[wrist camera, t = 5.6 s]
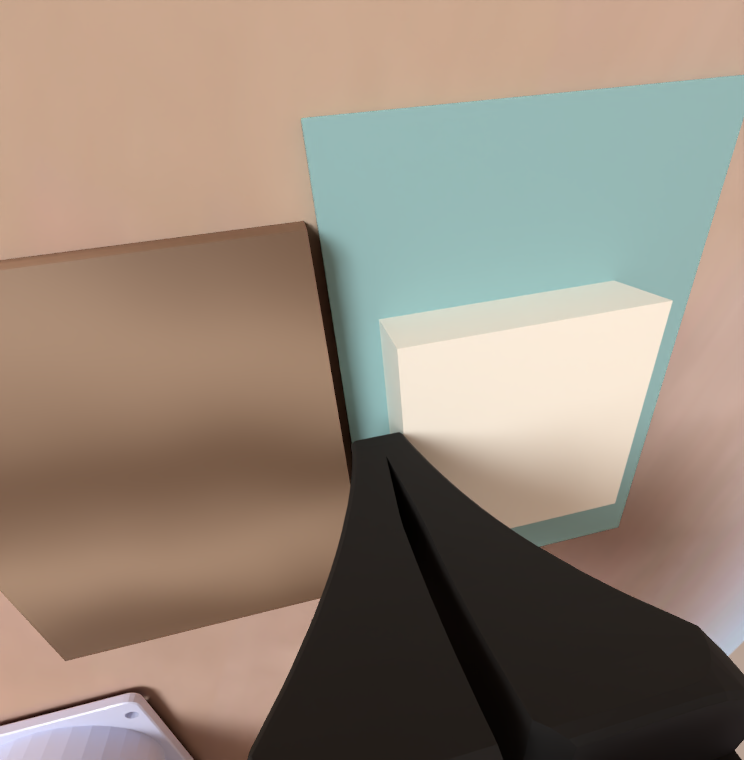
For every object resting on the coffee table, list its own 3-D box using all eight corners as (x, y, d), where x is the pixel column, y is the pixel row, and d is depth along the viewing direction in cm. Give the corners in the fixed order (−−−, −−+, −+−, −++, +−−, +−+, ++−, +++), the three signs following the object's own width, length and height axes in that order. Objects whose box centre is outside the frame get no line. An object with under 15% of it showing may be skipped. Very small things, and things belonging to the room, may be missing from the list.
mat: (613, 521, 18) (618, 527, 17) (372, 580, 16) (374, 587, 16) (745, 76, 10) (757, 73, 9) (300, 119, 8) (301, 118, 8)
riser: (360, 551, 15) (367, 586, 14) (85, 615, 14) (65, 661, 13) (303, 221, 9) (307, 229, 8) (-178, 283, 8) (-266, 305, 7)
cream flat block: (576, 464, 15) (614, 503, 13) (396, 504, 14) (412, 552, 12) (613, 280, 11) (672, 300, 10) (378, 319, 11) (397, 348, 9)
